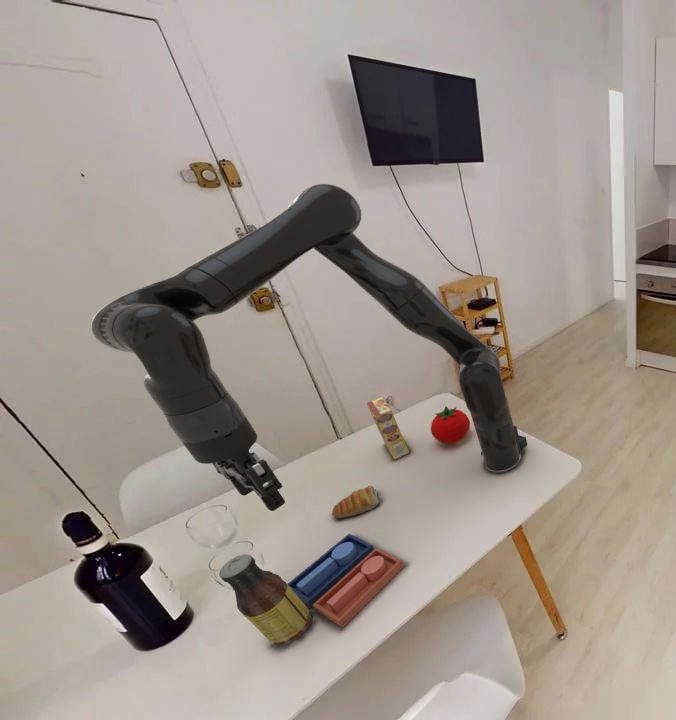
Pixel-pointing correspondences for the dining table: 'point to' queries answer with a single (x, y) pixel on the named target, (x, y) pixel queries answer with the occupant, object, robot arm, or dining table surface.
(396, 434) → the candy box
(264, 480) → the robot arm
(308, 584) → the blue spoon
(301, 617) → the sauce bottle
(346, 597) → the rose spoon
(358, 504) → the pastry
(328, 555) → the blue tray
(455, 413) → the tomato
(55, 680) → the dining table surface
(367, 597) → the rose tray
